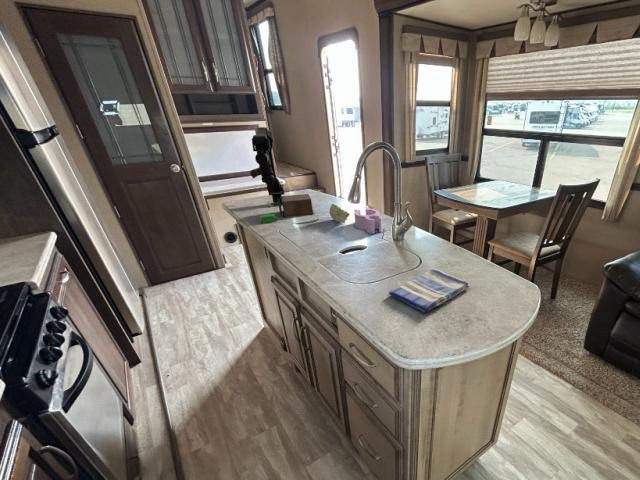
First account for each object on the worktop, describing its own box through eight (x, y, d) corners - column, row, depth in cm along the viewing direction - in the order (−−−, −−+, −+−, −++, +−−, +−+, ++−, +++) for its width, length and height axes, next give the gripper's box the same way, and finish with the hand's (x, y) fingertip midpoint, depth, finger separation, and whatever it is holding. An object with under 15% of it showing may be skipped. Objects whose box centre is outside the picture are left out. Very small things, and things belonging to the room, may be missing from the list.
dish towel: (470, 288, 112) (471, 281, 111) (426, 315, 98) (427, 308, 96) (432, 272, 122) (432, 265, 121) (387, 295, 108) (387, 288, 107)
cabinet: (285, 217, 180) (282, 201, 176) (283, 210, 190) (280, 196, 186) (313, 214, 185) (311, 199, 180) (310, 208, 195) (308, 193, 190)
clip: (388, 230, 161) (388, 217, 158) (366, 235, 156) (365, 221, 153) (372, 219, 176) (371, 207, 172) (351, 223, 171) (349, 210, 167)
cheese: (332, 220, 181) (319, 209, 167) (339, 209, 181) (327, 197, 167) (352, 233, 177) (341, 223, 163) (360, 222, 177) (349, 211, 162)
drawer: (269, 216, 178) (267, 204, 174) (269, 211, 187) (266, 199, 184) (307, 212, 184) (305, 200, 180) (304, 207, 193) (302, 196, 189)
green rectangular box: (275, 221, 174) (274, 215, 172) (262, 223, 172) (261, 217, 170) (275, 219, 177) (273, 213, 175) (262, 220, 175) (261, 214, 173)
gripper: (248, 160, 174) (255, 190, 182) (247, 166, 159) (255, 198, 168) (270, 159, 177) (276, 188, 186) (271, 164, 163) (277, 196, 171)
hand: (271, 192), depth 177 cm, fingers closed
